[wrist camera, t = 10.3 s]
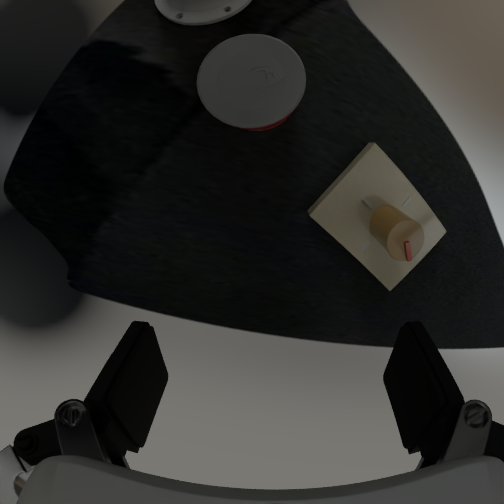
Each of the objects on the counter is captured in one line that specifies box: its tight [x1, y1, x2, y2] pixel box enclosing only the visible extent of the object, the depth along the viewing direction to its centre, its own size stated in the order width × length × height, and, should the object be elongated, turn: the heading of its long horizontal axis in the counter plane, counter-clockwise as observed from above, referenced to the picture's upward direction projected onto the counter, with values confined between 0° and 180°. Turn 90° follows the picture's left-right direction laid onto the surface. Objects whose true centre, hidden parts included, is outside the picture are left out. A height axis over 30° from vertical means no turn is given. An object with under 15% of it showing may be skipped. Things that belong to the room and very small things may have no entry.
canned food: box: [197, 34, 306, 131], centre depth 22 cm, size 8×8×11 cm
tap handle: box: [370, 205, 424, 262], centre depth 27 cm, size 4×4×6 cm
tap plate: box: [307, 142, 447, 291], centre depth 30 cm, size 15×11×2 cm
